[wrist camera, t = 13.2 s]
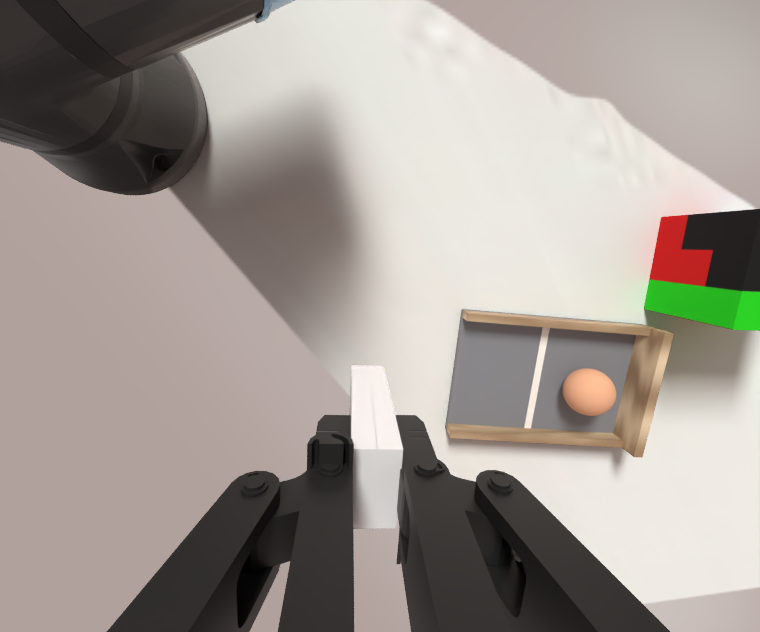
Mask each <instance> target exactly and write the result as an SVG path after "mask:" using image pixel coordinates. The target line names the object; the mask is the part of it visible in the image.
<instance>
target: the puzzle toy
mask: <svg viewBox="0 0 760 632" xmlns="http://www.w3.org/2000/svg"><path fill="white" fill-rule="evenodd" d="M644 309H646V310H651V311H655V312H659V313H664V314H668V315H672V316H676V317H681V318H685V319H689V320H694V321H698V322H702V323H706V324H711V325H715V326H719V327H724V328H728V329H732V330H759V331H760V209H754V210H742V211H730V212H718V213H705V214H693V215H681V216H669V217H661V222H660V227H659V232H658V237H657V243H656V248H655V253H654V258H653V264H652V269H651V274H650V279H649V285H648V290H647V295H646V300H645V306H644Z"/></svg>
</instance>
